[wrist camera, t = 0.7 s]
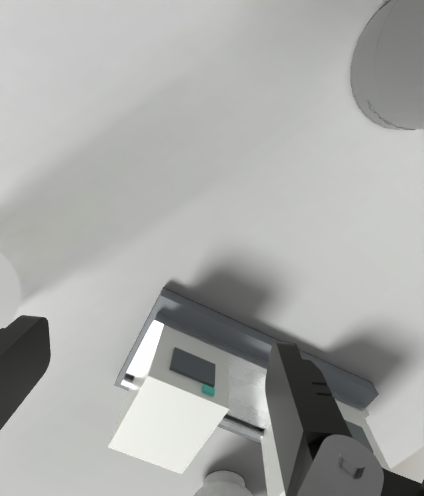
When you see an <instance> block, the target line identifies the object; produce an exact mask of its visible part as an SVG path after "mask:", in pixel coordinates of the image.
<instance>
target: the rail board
mask: <svg viewBox="0 0 424 496" xmlns="http://www.w3.org/2000/svg"><path fill="white" fill-rule="evenodd" d="M157 313H159V314H162V315H164V316H166V317H168V318H171V319H173V320H175V321H177V322H180V323H182V324H184V325H186V326H189V327H191V328H193V329H195V330H198V331H200V332H202V333H204V334H207V335H209V336H211V337H213V338H216V339H218V340H220V341H223V342H225V343H227V344H229V345H232V346H234V347H236V348H238V349H241V350H243V351H245V352H247V353H250V354H252V355H254V356H256V357H259V358H261V359H263V360H265V361H268V362H269V358H270V353H271V348H272V344H273V342H281V341H279V340H276V339H274V338H272V337H270V336H268V335H266V334H263V333H261V332H259V331H257V330H255V329H252V328H250V327H248V326H246V325H244V324H241V323H239V322H237V321H235V320H233V319H231V318H228V317H226V316H224V315H222V314H220V313H217V312H215V311H213V310H211V309H209V308H206V307H204V306H202V305H200V304H198V303H196V302H193V301H191V300H189V299H187V298H185V297H182V296H180V295H178V294H176V293H174V292H171V291H169V290H167V289H165V288H163V289H162V291H161V293H160V295H159V297H158V299H157V301H156V303H155V305H154V307H153V309H152V310H151V312H150V314H149V316H148V318H147V320H146V322H145V324H144V326H143V328H142V330H141V332H140V334H139V336H138V338H137V340H136V342H135V344H134V346H133V348H132V349H131V351H130V353H129V355H128V357H127V359H126V361H125V363H124V365H123V367H122V369H121V371H120V373H119V375H118V377H117V379H116V382H115V384H114V385H115V386H117V387H120V388H122V389H125V390H127V391H129V387H126V386H124V385H121V382H122V380H123V377H124V375H125V373H126V371H127V369H128V367H129V365H130V363H131V361H132V360H133V358H134V356H135V354H136V352H137V350H138V348H139V346H140V344H141V342H142V340H143V338H144V337H145V335H146V333H147V331H148V329H149V327H150V325H151V323H152V321H153V320H154V317H155V316H156V314H157ZM299 352H300V355H301V357H302V359H305V360H311V361H312V362H313V363H314V364H315V365H316V366H317V367H318V368H319V369H320V370H321V372H322V374H323V376H324V378H325V380H326V382H327V386H329V388H330V389H331V390H333V391H335V392H338V393H340V394H342V395H344V396H347V397H349V398H351V399H353V400H356V401H358V402H360V403H362V404H364V405H365V407H367V406H368V405H369V404H370V403H371V402H372V401H373V400H374V399H375V398H376V397H377V396H378V392H377V390H376V389H375V387H374V385H373V384H372V383H371V382H368V381H366V380H364V379H362V378H360V377H357V376H355V375H353V374H351V373H349V372H346V371H344V370H342V369H340V368H338V367H336V366H333V365H331V364H329V363H327V362H325V361H322V360H320V359H318V358H316V357H314V356H311V355H309V354H307V353H305V352H303V351H301V350H299ZM218 427H220V428H223V429H225V430H228V431H230V432H233V433H235V434H238V435H240V436H243V437H245V438H248V439H250V440H253V441H255V442H258V443H261V440H259V439H256V438H254V437H251V436H249V435H246V434H244V433H241V432H239V431H236V430H234V429H231V428H229V427H226V426H224V425H221V424H218Z"/></svg>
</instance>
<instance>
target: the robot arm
mask: <svg viewBox="0 0 424 496" xmlns="http://www.w3.org/2000/svg"><path fill="white" fill-rule="evenodd" d="M351 86H352V92H353V96H354V98H355V100H356V103H357V105H358V107H359V108H360V109H361V111H362V112H363V113H364V115H365V116H366V117H368V118H369V119H370V120H371V121H373V122H374V123H376V124H378V125H380V126H383V127H385V128H391V129H405V130H415V129H424V0H391V1H389V2H388V3H387V4H386V5H385V6H383V7H382V8H381V9H380V10H379V11H378V12H377V13H376V14H375V15H374V17H373V18H372V19H371V20H370V21H369V22H368V24H367V26H366V27H365V29H364V31H363V32H362V34H361V36H360V37H359V40H358V42H357V45H356V48H355V50H354V53H353V58H352V63H351ZM50 356H51V353H50V339H49V326H48V320H47V319H46V318H45V317H35V316H25V315H22V316H20V317H18V318H17V319H16V320H15V321H14V322H12V323H11V324H10V325H9V326H8V327H6V328H2V329H0V430H1V428H2V427H3V426H4V425H5V423H6V422H7V421H8V419H9V418H10V417H11V416H12V414H13V413H14V412H15V411H16V409H17V408H18V407H19V405H20V404H21V403H22V402H23V400H24V399H25V398H26V396H27V395H28V394H29V393H30V391H31V390H32V389H33V387H34V386H35V385H36V384H37V382H38V381H39V380H40V379H41V377H42V376H43V375H44V373H45V372H46V370H47V368H48V365H49V362H50ZM265 394H266V400H267V405H268V410H269V415H270V420H271V425H272V430H273V435H274V440H275V445H276V450H277V455H278V460H279V465H280V470H281V475H282V480H283V485H284V490H285V495H286V496H424V480H423V482H422V484H420V483H418V482H416V481H413V480H410V479H408V478H405V477H403V476H400V475H398V474H395V473H393V472H390V471H388V470H386V469H384V468H382V467H381V465H380V463H379V461H378V460H377V458H376V457H375V456H374V454H373V453H372V452H371V451H370V450H369V449H368V448H367V447H366V446H364V445H363V444H362V443H360V442H359V441H357V440H355V439H353V437H352V435H351V433H350V431H349V428H348V426H347V424H346V422H345V420H344V418H343V416H342V414H341V412H340V409H339V407H338V405H337V403H336V401H335V399H334V397H332V393H331V390H330V388H329V386H327V382H326V380H325V378H324V376H323V374H322V372H321V370H320V369H319V368H318V367H317V366H316V365H315V364H314V363H313V362H312V361H311V360H305V359H302V357H301V355H300V352H299V350H298V348H297V345H296V344H294V343H284V342H273V344H272V348H271V353H270V358H269V363H268V368H267V373H266V379H265Z"/></svg>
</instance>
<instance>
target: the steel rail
mask: <svg viewBox="0 0 424 496" xmlns="http://www.w3.org/2000/svg"><path fill="white" fill-rule="evenodd" d="M163 325H165V326H168V327H170V328H172V329H174V330H177V331H179V332H181V333H184V334H186V335H188V336H190V337H193V338H195V339H197V340H199V341H202V342H204V343H206V344H209V345H211V346H213V347H215V348H218V349H220V350H222V351H225V352H227V353H228V364H229V405H230V409H229V411H228V412H227V413H226V415H225V416H224V417H223V419H222V420H221V422H220V423H219V424H221V425H224V426H226V427H229V428H231V429H234V430H236V431H239V432H241V433H244V434H246V435H249V436H251V437H254V438H256V439H259V440H261V439H262V438H263V437H264V435H263V431H264V430H265V429H266V427H267V426H268V425H269V424H270V423H271V420H270V415H269V410H268V405H267V400H266V394H265V379H266V373H267V368H268V363H269V362H268V361H265V360H263V359H261V358H259V357H256V356H254V355H252V354H250V353H247V352H245V351H243V350H241V349H238V348H236V347H234V346H232V345H229V344H227V343H225V342H223V341H220V340H218V339H216V338H213V337H211V336H209V335H207V334H204V333H202V332H200V331H198V330H195V329H193V328H191V327H189V326H186V325H184V324H182V323H180V322H177V321H175V320H173V319H171V318H168V317H166V316H164V315H162V314H159V313H157V314H156V316H155V317H154V320H153V321H152V323H151V325H150V327H149V329H148V331H147V333H146V335H145V337H144V338H143V340H142V342H141V344H140V346H139V348H138V350H137V352H136V354H135V356H134V358H133V360H132V361H131V363H130V365H129V367H128V369H127V371H126V373H125V375H124V377H123V380H122V382H121V385H124V386H126V387H129V388H130V386H131V384H132V382H133V379H134V377H135V375H136V373H137V372H138V370H139V368H140V366H141V364H142V362H143V360H144V359H145V357H146V355H147V353H148V351H149V349H150V347H151V346H152V344H153V342H154V340H155V338H156V336H157V335H158V333H159V331H160V330H161V329H162V327H163ZM330 390H331V389H330ZM331 393H332V397H334V399H335V400H336V401H339V402H341V403H343V404H345V405H348V406H350V407H352V408H355V409H357V410H359V411H361V412H362V414H363V416H364V418H366V417H367V416H368V415H369V413H368V411H367V409H366V407H365V405H364V404H362V403H360V402H358V401H356V400H353V399H351V398H349V397H347V396H344V395H342V394H340V393H338V392H335V391H333V390H331Z"/></svg>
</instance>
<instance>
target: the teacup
mask: <svg viewBox="0 0 424 496" xmlns="http://www.w3.org/2000/svg"><path fill="white" fill-rule="evenodd" d="M194 496H253V494H252V493H251V492H250V491H249V490H248V489H247V488H245V482H244V480H243V478H242V477H241V476H240V475H238V474H236V473H234V472H231V471H224V470H223V471H216V472H213V473H211V474H209V475H208V476H207V477H206V478H205V479H204V483H203V487H202V488H200V489H199V490H198V491H197V492H196V493H195V495H194Z"/></svg>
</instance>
